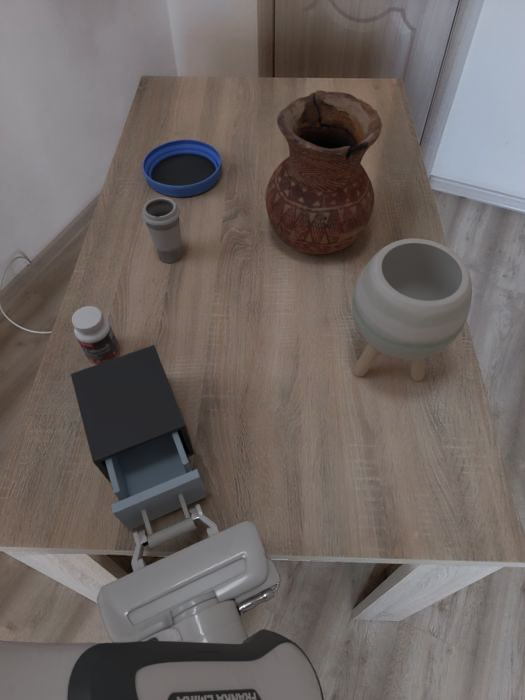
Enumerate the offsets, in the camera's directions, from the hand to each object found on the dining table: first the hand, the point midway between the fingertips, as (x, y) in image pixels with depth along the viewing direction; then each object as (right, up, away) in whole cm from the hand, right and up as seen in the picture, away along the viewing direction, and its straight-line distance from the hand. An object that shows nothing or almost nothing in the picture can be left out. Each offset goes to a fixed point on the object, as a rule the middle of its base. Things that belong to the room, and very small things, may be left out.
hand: (167, 519), depth 61 cm
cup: (-6, +41, +36) cm, 55 cm away
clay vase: (+23, +47, +39) cm, 65 cm away
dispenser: (-7, +9, +14) cm, 18 cm away
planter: (+34, +20, +21) cm, 44 cm away
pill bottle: (-16, +21, +22) cm, 34 cm away
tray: (-3, +2, +8) cm, 8 cm away
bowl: (-6, +63, +50) cm, 81 cm away
